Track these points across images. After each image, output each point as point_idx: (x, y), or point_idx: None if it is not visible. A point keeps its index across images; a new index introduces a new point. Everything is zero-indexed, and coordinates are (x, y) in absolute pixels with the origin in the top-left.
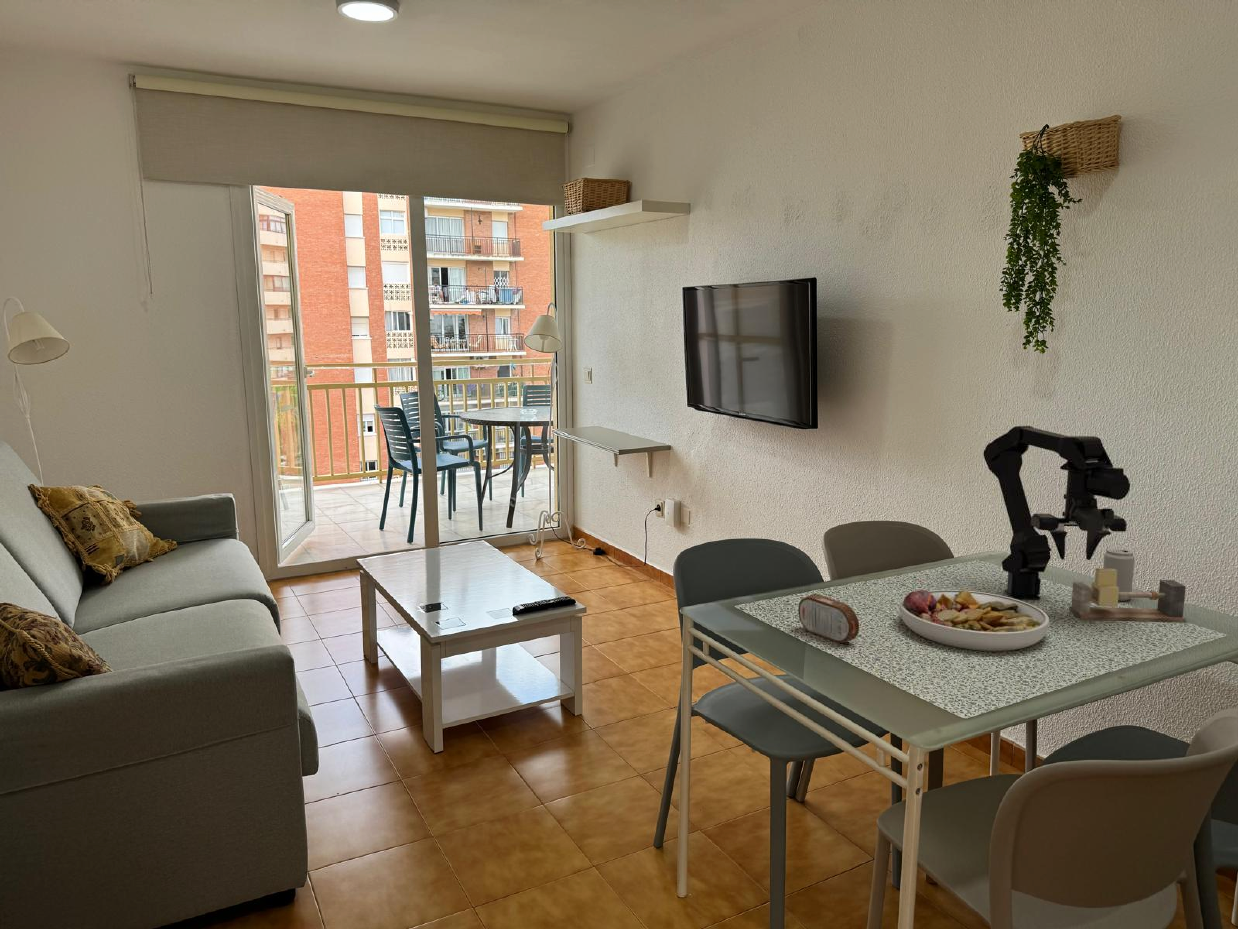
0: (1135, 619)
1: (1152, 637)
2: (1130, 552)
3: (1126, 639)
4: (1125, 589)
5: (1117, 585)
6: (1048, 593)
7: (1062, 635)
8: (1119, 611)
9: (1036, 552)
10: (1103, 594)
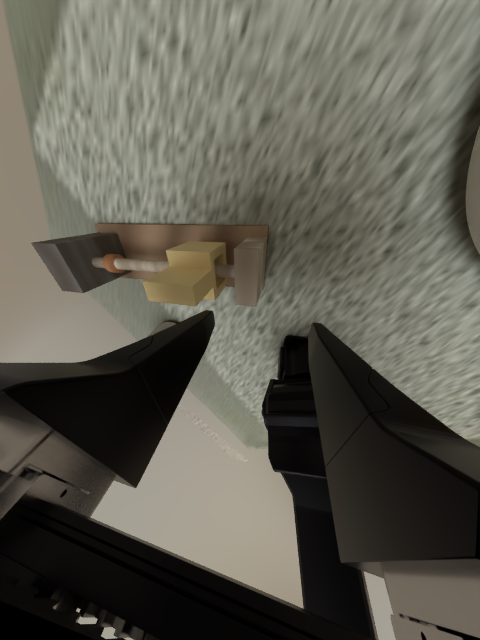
0: (170, 224)
1: (157, 73)
2: None
3: (227, 17)
4: (158, 330)
5: None
6: (256, 357)
7: (429, 14)
8: None
9: (316, 413)
10: (208, 247)
